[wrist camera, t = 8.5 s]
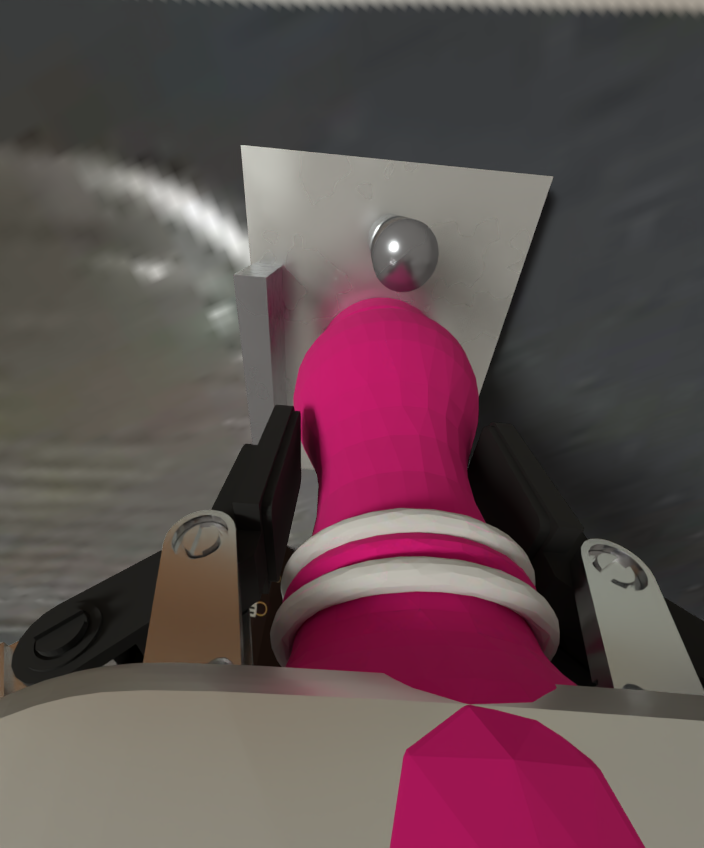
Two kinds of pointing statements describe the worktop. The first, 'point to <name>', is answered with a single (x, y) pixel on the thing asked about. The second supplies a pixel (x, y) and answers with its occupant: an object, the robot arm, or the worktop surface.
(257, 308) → the pin tray
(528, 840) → the pepper mill
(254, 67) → the worktop surface
